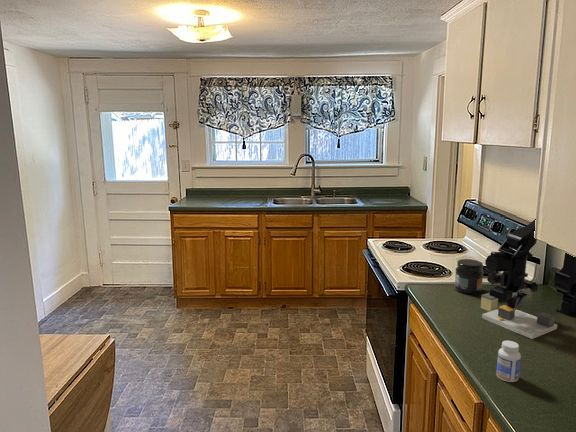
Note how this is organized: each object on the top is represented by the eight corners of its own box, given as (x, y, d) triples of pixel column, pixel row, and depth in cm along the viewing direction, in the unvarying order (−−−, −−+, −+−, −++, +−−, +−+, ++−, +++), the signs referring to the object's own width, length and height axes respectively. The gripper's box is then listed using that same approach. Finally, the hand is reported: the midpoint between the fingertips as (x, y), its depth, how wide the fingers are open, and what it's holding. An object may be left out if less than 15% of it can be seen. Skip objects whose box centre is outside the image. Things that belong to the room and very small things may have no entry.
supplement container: (486, 290, 179) (488, 262, 176) (474, 297, 172) (477, 268, 169) (461, 283, 186) (463, 256, 184) (449, 290, 179) (451, 262, 177)
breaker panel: (506, 309, 160) (506, 305, 160) (556, 328, 145) (557, 323, 144) (481, 318, 153) (482, 313, 153) (532, 339, 138) (532, 333, 137)
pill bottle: (511, 371, 120) (515, 338, 118) (522, 382, 114) (526, 348, 113) (492, 371, 120) (495, 339, 118) (502, 383, 114) (505, 349, 112)
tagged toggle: (503, 313, 152) (504, 304, 152) (514, 318, 149) (515, 308, 148) (497, 315, 151) (498, 306, 150) (508, 319, 147) (509, 310, 147)
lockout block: (487, 305, 164) (488, 292, 163) (497, 309, 160) (498, 296, 159) (480, 307, 162) (481, 294, 161) (490, 311, 158) (491, 298, 157)
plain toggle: (541, 320, 147) (542, 312, 146) (554, 325, 143) (555, 316, 143) (536, 322, 145) (537, 314, 145) (548, 327, 142) (549, 318, 141)
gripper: (510, 259, 159) (506, 299, 163) (477, 267, 150) (473, 310, 153) (540, 267, 150) (535, 310, 153) (507, 277, 141) (502, 322, 144)
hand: (511, 312), depth 151 cm, fingers closed
